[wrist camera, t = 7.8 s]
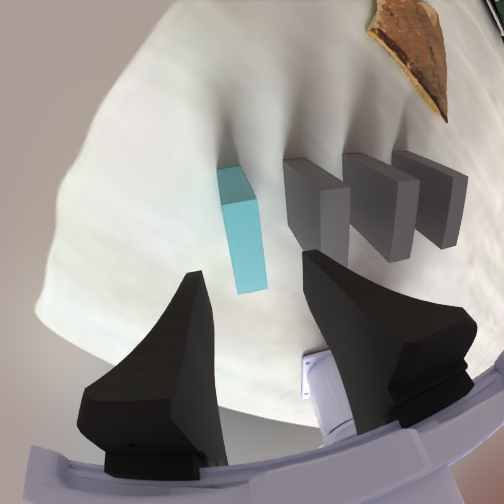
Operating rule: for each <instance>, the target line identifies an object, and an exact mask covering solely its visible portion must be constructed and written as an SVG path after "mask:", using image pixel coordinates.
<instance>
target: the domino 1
mask: <svg viewBox="0 0 504 504" xmlns="http://www.w3.org/2000/svg"><path fill="white" fill-rule="evenodd" d="M217 178H218V185H219V193H220V201H221V207H222V213H223V218H224V224H225V229H226V235H227V240H228V245H229V251H230V256H231V261H232V266H233V272H234V277H235V282H236V287H237V292H238V295H239V294H244V293H250V292H255V291H260V290H265V289H268V285H267V276H266V268H265V259H264V251H263V243H262V234H261V226H260V218H259V210H258V202H257V198H256V196H255V194H254V192H253V190H252V188H251V186H250V184H249V182H248V180H247V178H246V176H245V174H244V172H243V170H242V168H241V166H235V167H229V168H223V169H218V170H217Z"/></svg>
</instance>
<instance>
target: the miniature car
mask: <svg viewBox="0 0 504 504" xmlns="http://www.w3.org/2000/svg"><path fill="white" fill-rule="evenodd" d="M486 1H487V3H488V5H489V7H490V9H491V11H492V13H493V16H494V18H495V20H496V22H497V24H498V26H499V28H500V30H501V32H502V33H501V35H502V36H504V0H486ZM503 41H504V37H503Z"/></svg>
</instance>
